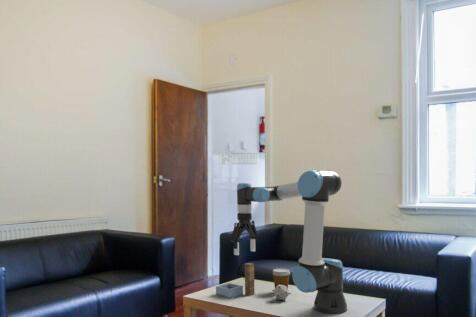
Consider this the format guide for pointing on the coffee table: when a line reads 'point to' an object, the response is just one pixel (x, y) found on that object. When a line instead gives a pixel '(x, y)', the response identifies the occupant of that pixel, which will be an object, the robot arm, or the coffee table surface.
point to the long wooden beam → (249, 279)
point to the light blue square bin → (229, 290)
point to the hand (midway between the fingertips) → (244, 253)
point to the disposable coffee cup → (281, 277)
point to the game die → (281, 292)
